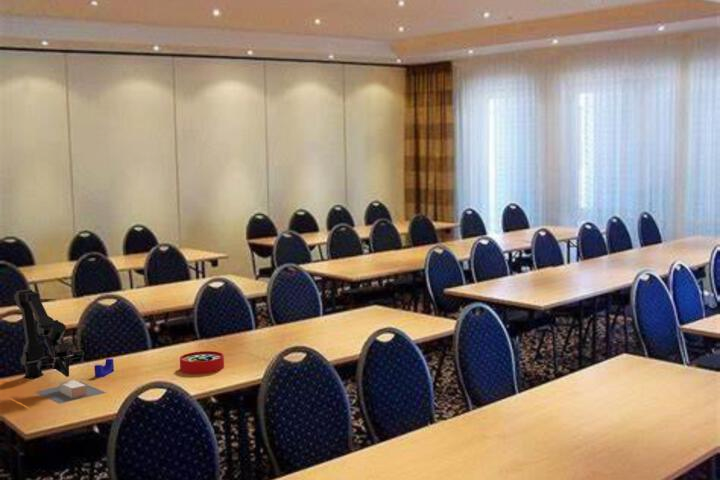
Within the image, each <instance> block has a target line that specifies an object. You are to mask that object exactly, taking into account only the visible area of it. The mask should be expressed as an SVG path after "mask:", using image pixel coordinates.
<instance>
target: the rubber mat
mask: <svg viewBox="0 0 720 480" xmlns="http://www.w3.org/2000/svg"><path fill="white" fill-rule="evenodd" d="M78 382H79V383H82V384H84V385H87V395H85V396H80V397H76V398H72V397H69V396H67V395H65V394H63V393H61V392H60V385H59V386H54V387H50V388H46V389H42V390H36V391H35V393H36V394H38V395H40V396H42V397H44V398H47V399H49V400H51V401H53V402H55V403H57V404H59V405H60V404H64V403H68V402H72V401H77V400H80V399H85V398H90V397H93V396H98V395H102V394H106V393H107V392H106V391H104V390H101V389H99V388H96V387H95V386H91V385H89V384H87V383H85V382H83V381H78Z"/></svg>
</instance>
